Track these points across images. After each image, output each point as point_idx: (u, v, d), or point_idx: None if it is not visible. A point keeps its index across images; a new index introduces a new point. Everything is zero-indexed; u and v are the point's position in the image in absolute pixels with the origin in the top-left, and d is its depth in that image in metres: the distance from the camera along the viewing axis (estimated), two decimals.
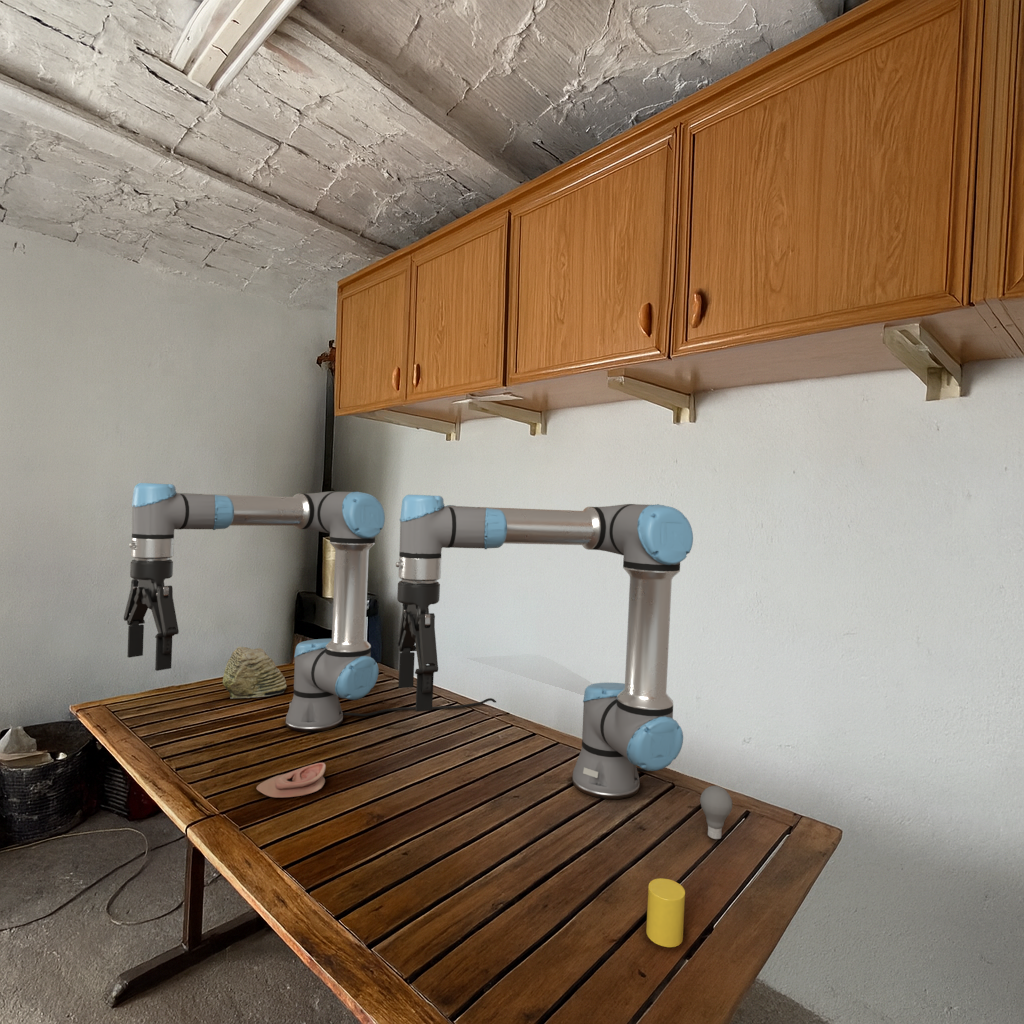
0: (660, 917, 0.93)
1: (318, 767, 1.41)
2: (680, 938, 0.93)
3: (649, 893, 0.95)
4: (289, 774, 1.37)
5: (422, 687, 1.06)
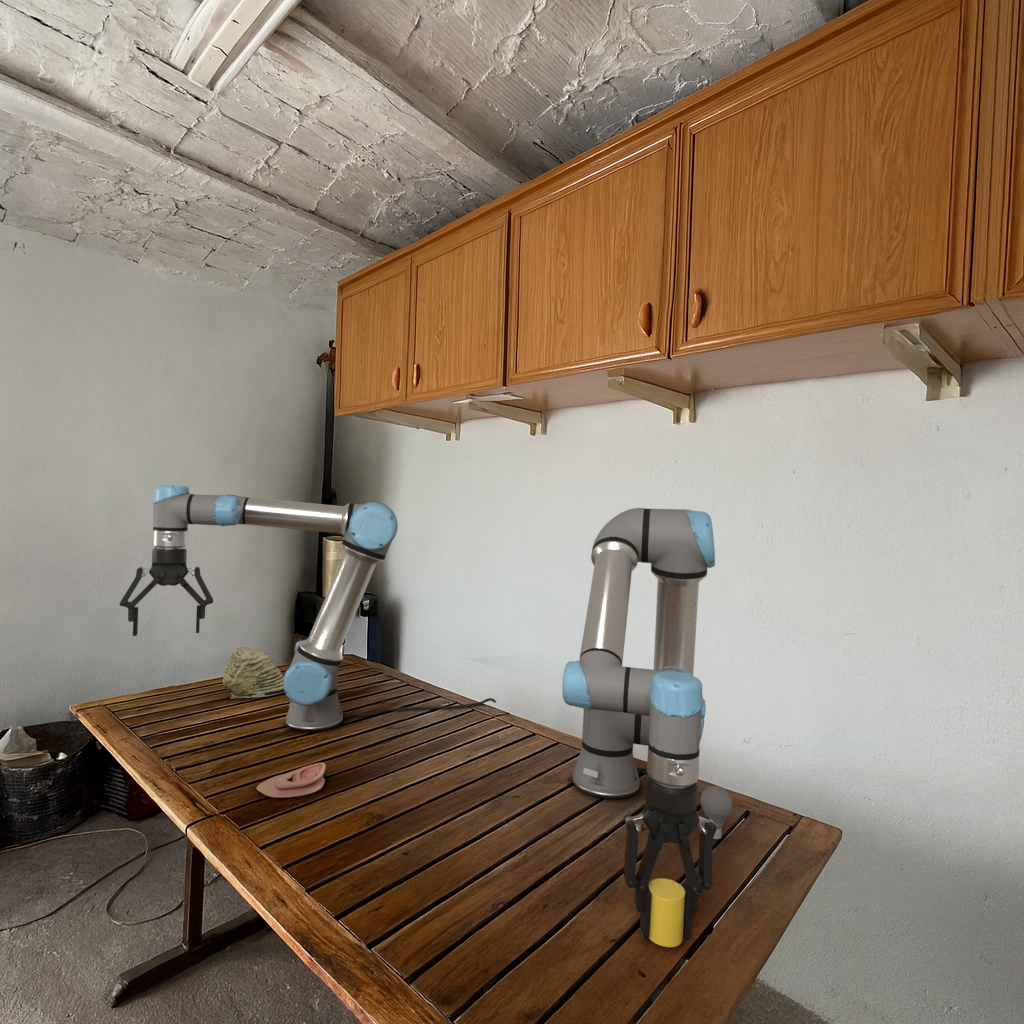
0: (660, 917, 0.93)
1: (318, 767, 1.41)
2: (680, 938, 0.93)
3: None
4: (289, 774, 1.37)
5: (694, 907, 0.95)
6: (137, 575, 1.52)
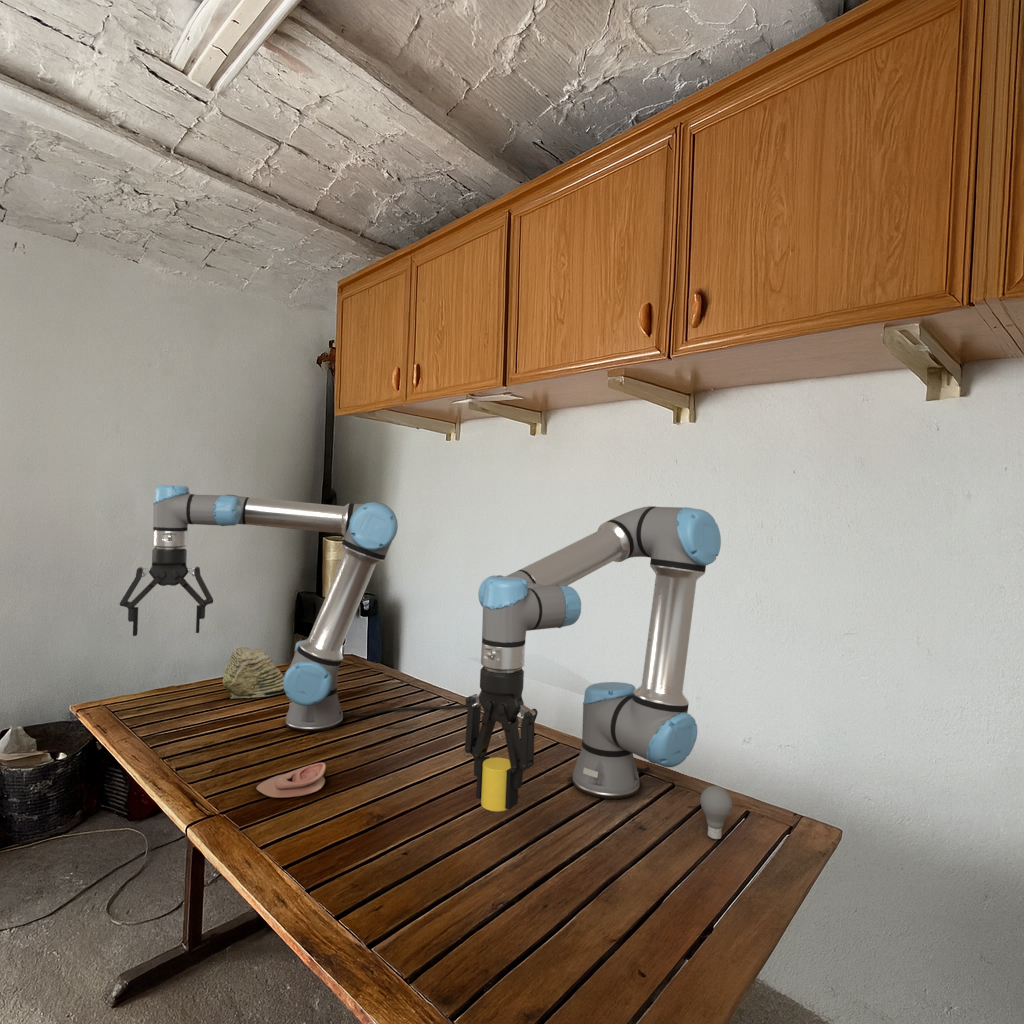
0: (483, 782, 1.08)
1: (318, 767, 1.41)
2: (499, 806, 1.07)
3: None
4: (289, 774, 1.37)
5: (515, 784, 1.07)
6: (137, 575, 1.52)
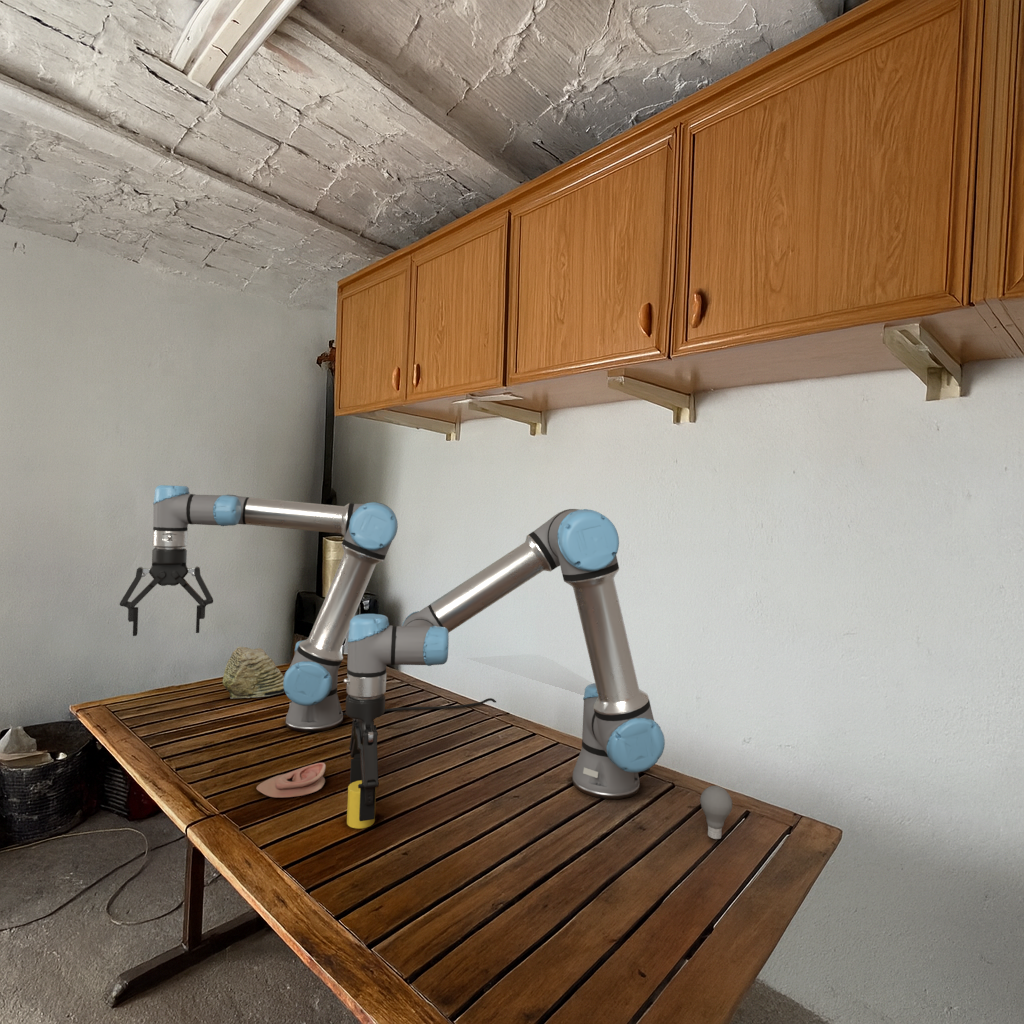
0: None
1: (318, 767, 1.41)
2: (352, 823, 1.22)
3: None
4: (289, 774, 1.37)
5: (364, 799, 1.17)
6: (137, 575, 1.52)
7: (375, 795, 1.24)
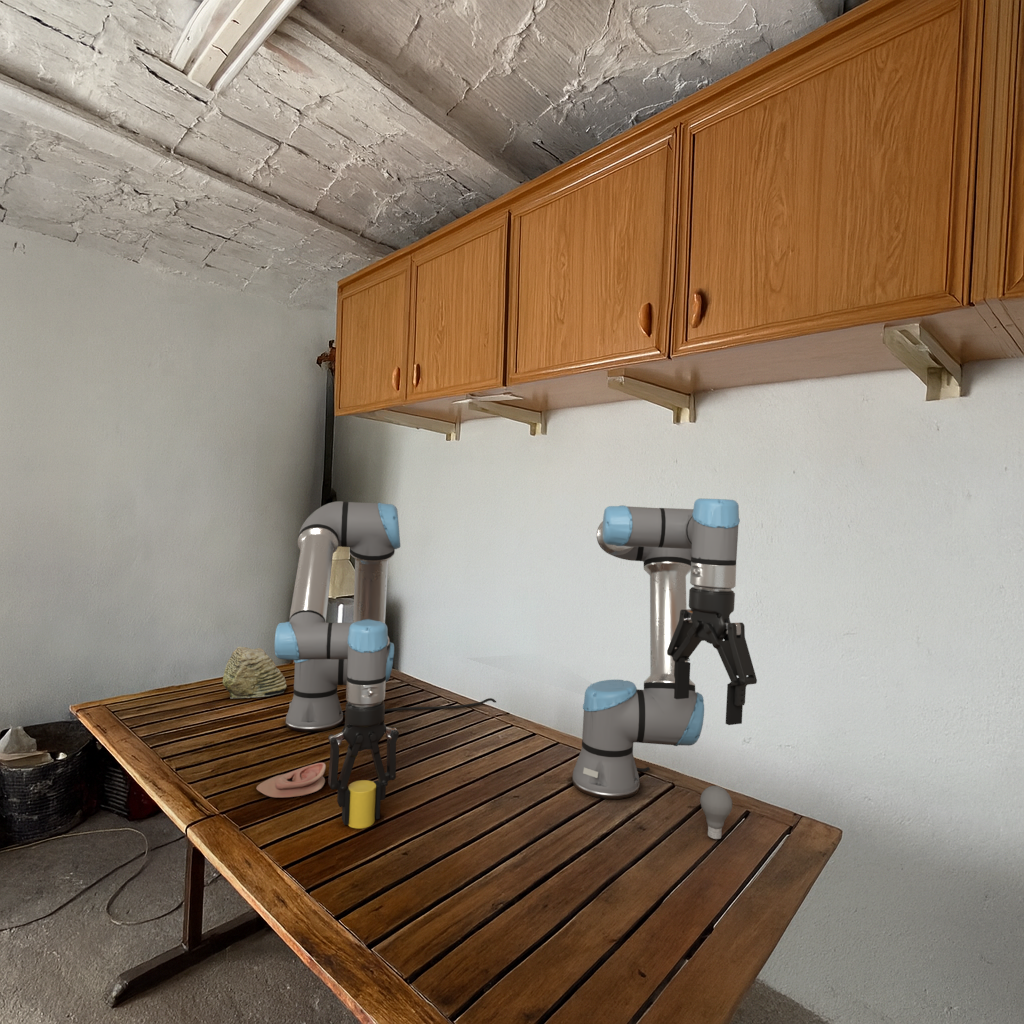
0: None
1: (318, 767, 1.41)
2: (352, 823, 1.22)
3: None
4: (289, 774, 1.37)
5: (736, 700, 1.02)
6: (334, 748, 1.20)
7: (375, 795, 1.24)
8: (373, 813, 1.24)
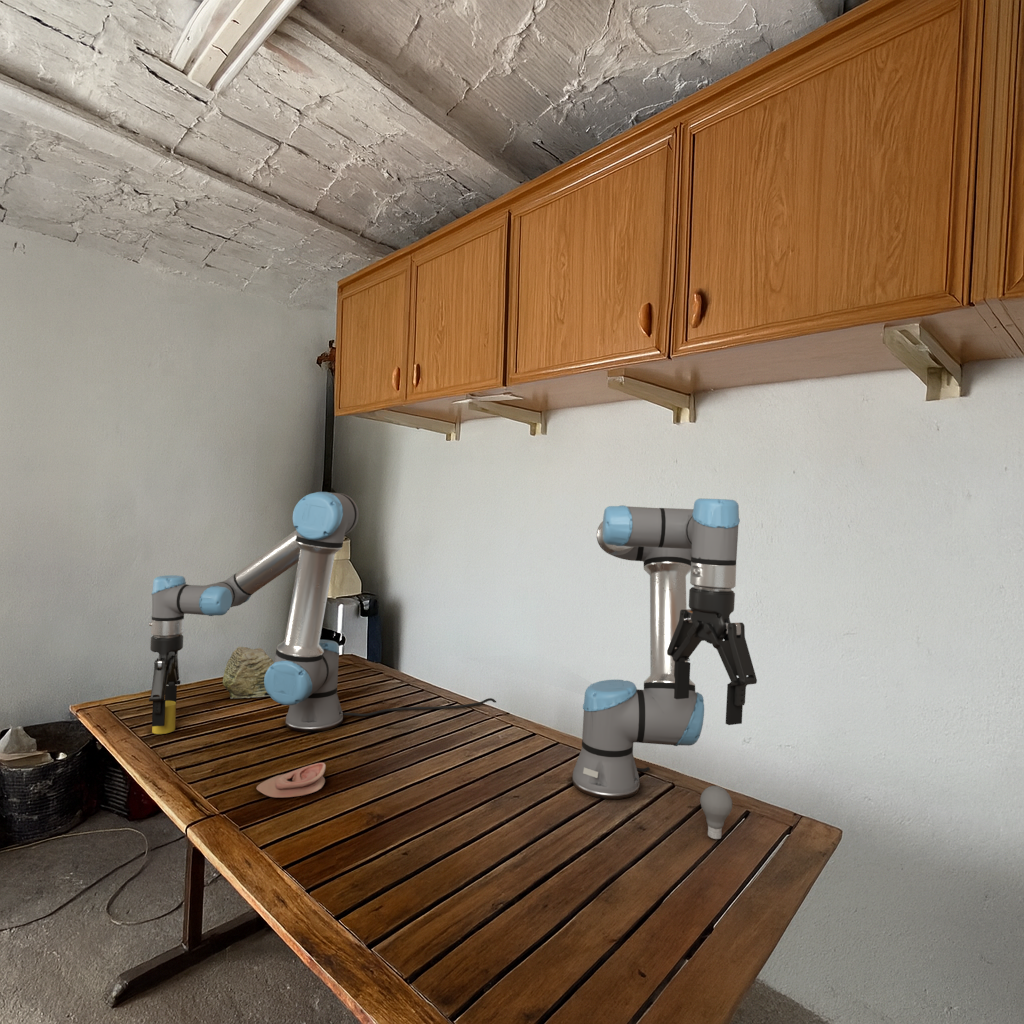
0: None
1: (318, 767, 1.41)
2: None
3: (175, 705, 1.67)
4: (289, 774, 1.37)
5: (736, 700, 1.02)
6: None
7: None
8: None
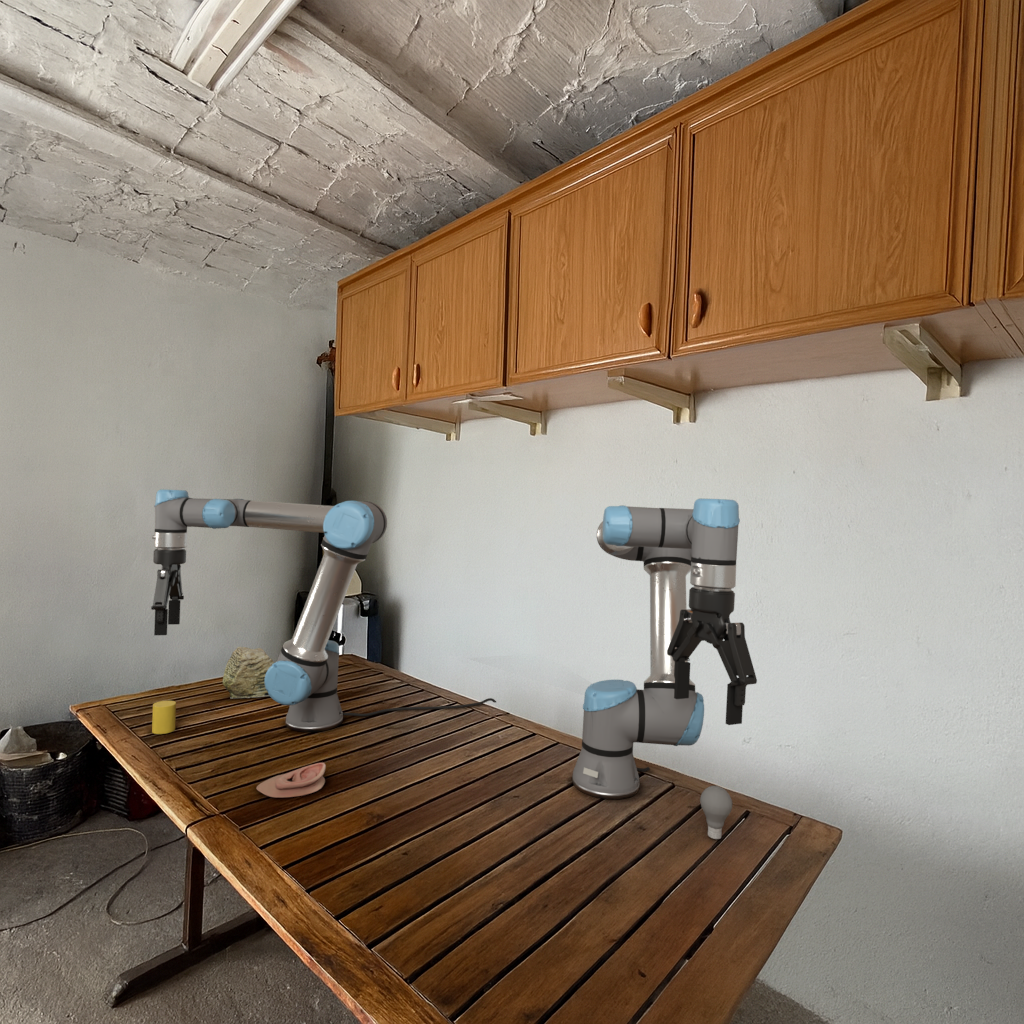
0: None
1: (318, 767, 1.41)
2: None
3: (175, 705, 1.67)
4: (289, 774, 1.37)
5: (736, 700, 1.02)
6: None
7: (157, 713, 1.63)
8: (154, 725, 1.64)
